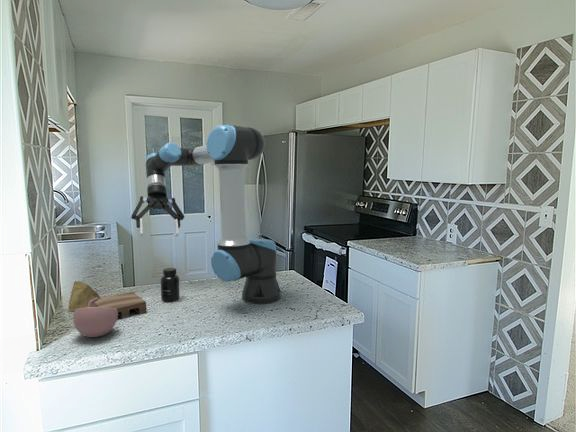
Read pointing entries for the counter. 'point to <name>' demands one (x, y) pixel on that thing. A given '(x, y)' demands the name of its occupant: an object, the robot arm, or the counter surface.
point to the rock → (81, 296)
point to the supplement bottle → (170, 285)
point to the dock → (123, 303)
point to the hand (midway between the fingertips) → (159, 235)
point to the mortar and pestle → (94, 319)
